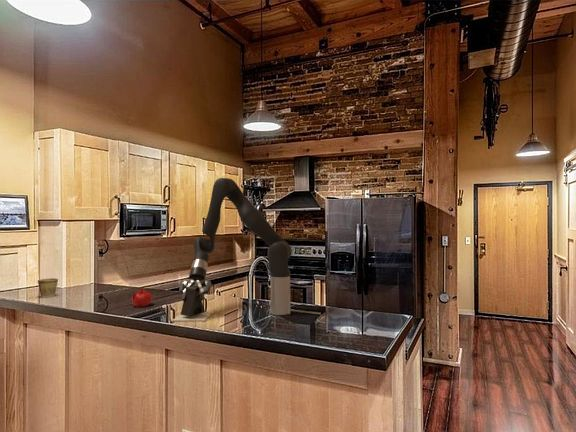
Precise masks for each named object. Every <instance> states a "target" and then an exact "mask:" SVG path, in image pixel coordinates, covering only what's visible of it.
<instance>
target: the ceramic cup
mask: <svg viewBox="0 0 576 432" xmlns="http://www.w3.org/2000/svg"><path fill="white" fill-rule="evenodd" d="M58 282H59V281H58V278H51V277H50V278H41V279H38V280H37V284H38V285H37V286H38V289H39V293H40V298H41V299H48V298H53V297H55V296H56V291H57V286H58Z"/></svg>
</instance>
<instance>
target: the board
mask: <svg viewBox="0 0 576 432" xmlns="http://www.w3.org/2000/svg"><path fill="white" fill-rule="evenodd" d="M212 313H213V312H212V311H211V312H210V311H209V312H208V311H207V312H206V311H205V312H204V313H201V314H197V315H194V316H191V317H190V316H185V315H181V313H180V314H178V315H177V316H176V317H175V318H173V319H172V322H183V323H184V322H187V323H188V322H206V321H207V320H208V319H209V317H211V315H213V314H212Z"/></svg>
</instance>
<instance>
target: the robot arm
mask: <svg viewBox="0 0 576 432" xmlns="http://www.w3.org/2000/svg"><path fill="white" fill-rule="evenodd" d="M211 192H212V193H211V198H210V203H209V208H208V211H207V215H206V218H205V220H204V223H203V226H202V229H201V232H202V233H203V234H204V235H206V236H207V237H209V238H206V237H203V236H197V237H196V238H195V239H194V241H193V251H194V255H193V261H192V264H191V267H190V270H189V275H188V279H187V280H186V281H185V280H181V281H180V284H179V293H180V295H182V296H181V300H182V303H183V302H184V301H185V295H186V287H187V286H188V287H189V286H192V287H199V288H200V297H199V301H200V302H202V303H203V300H204V298H205V297H204V296H205V295H209V293H210V290H211V286H212V282H211V280H210V279H209V280H206V276H207V272H208V263H209V254H212V253H213V252H214V251H215V247H216V246H215V245H216V244H215V243H216V235H217V232H218V228H219V226H220V223H221V213H222V212H221V210H222V205H223V202H224V200H225V198H227V199H228V200H229V201H230V202H231V203H232V204H233V205H234V206H235V209H236V210H237V214H238V217H239V218H240V220H241V221H242V223H243V224H244V225H245V226H246V228H247V229H248V230H249V231H250V232H252V233H253V234H254V235H256V236H257V237H259V238H260V240H262V241H263V242H265V244H266V245H267V246H268V247H269V248H268V270H269V273H270V280H269V281H270V314H272V315H275V316H285V315H291V270H290V268H289V262H288V261H289V259H290V258H291V257H292V253H293V251H292V247H291V245H290V243H288V242H287V241H286V240H285V239H284V238H282V237H281V236H280V235H279V233H278V232H277V231H275V229H274V228H273V227H272V225H271V224H270V222H269V221H268V220H267V219H266V218H265V217H264V215H263V214H262V213H261V212H260V211H259V209H258V208H257V207H256V206H255V205H254V204H253V203H252V202H251V201H250V200H249V199H248V198H247V197H246V195H245V194H244V192H243V191H242V189H241V188H240V187H239V186H238V184H237V182H236V181H234V179H232V178H226V177H225V178H224V177H220V178H217V179H216V180H215V181H214V184H213V186H212V191H211ZM203 286H205V289H204V288H203Z"/></svg>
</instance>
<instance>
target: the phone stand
mask: <svg viewBox="0 0 576 432" xmlns="http://www.w3.org/2000/svg"><path fill="white" fill-rule="evenodd" d="M186 286H187V285H186ZM186 286H185V288H186V295H185V301H184V302H183V301H182V307H181V311H180V314H181V315H185V316H190V317H191V316H194V315H197V314H201V313H204V312H206V311H205V308H204V305H203V301H202V302H200V301H199V297H200V293H201V291H200V288H199V287H192V286H189V287H188V286H187V287H186Z"/></svg>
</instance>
